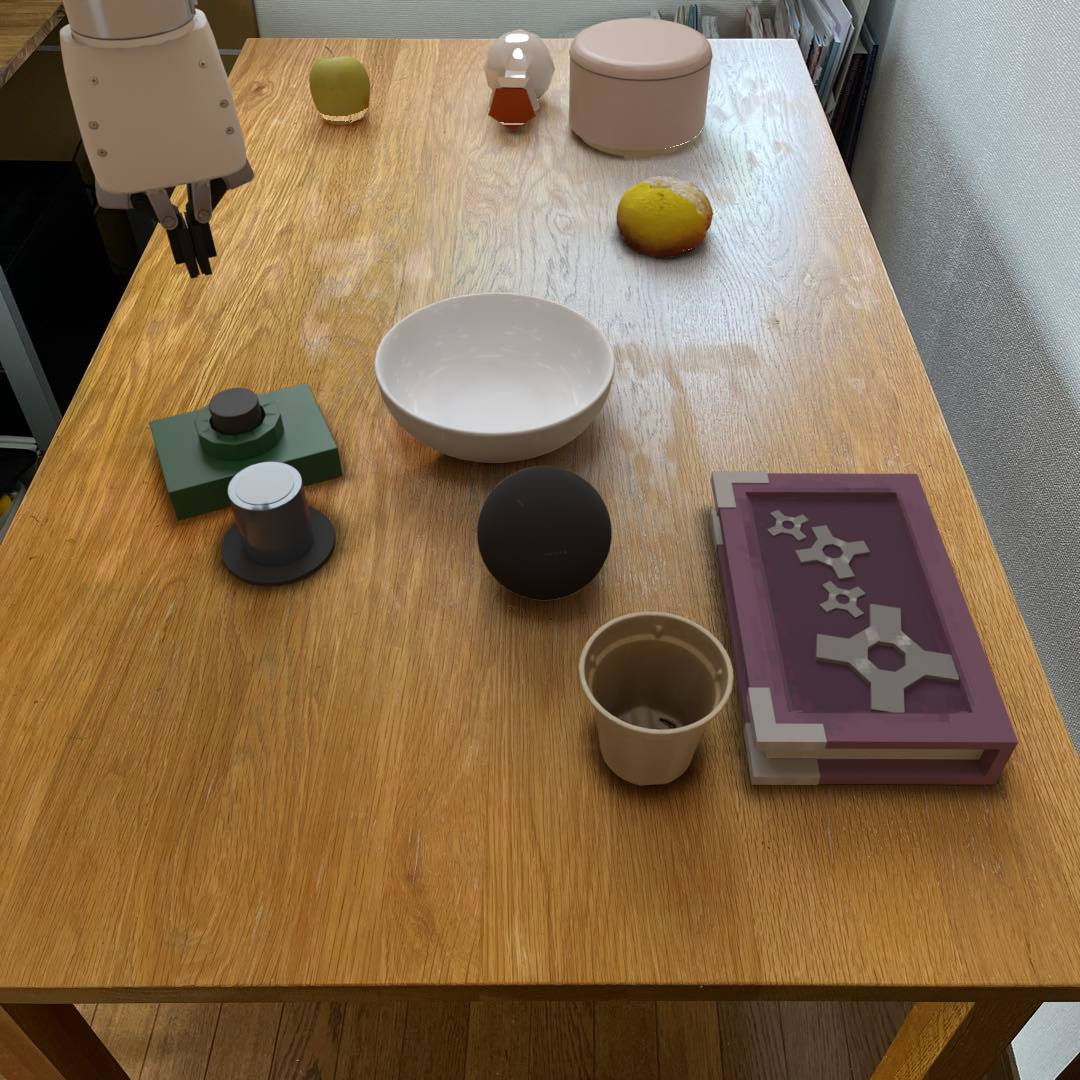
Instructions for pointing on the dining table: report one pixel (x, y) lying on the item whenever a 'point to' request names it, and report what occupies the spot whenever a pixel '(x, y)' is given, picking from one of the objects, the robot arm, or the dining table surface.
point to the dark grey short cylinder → (235, 411)
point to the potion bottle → (517, 76)
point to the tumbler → (271, 513)
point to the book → (852, 634)
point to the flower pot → (653, 692)
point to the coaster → (280, 574)
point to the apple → (339, 87)
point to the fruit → (663, 217)
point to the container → (638, 86)
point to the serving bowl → (495, 375)
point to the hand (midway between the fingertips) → (198, 267)
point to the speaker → (544, 533)
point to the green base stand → (242, 449)
